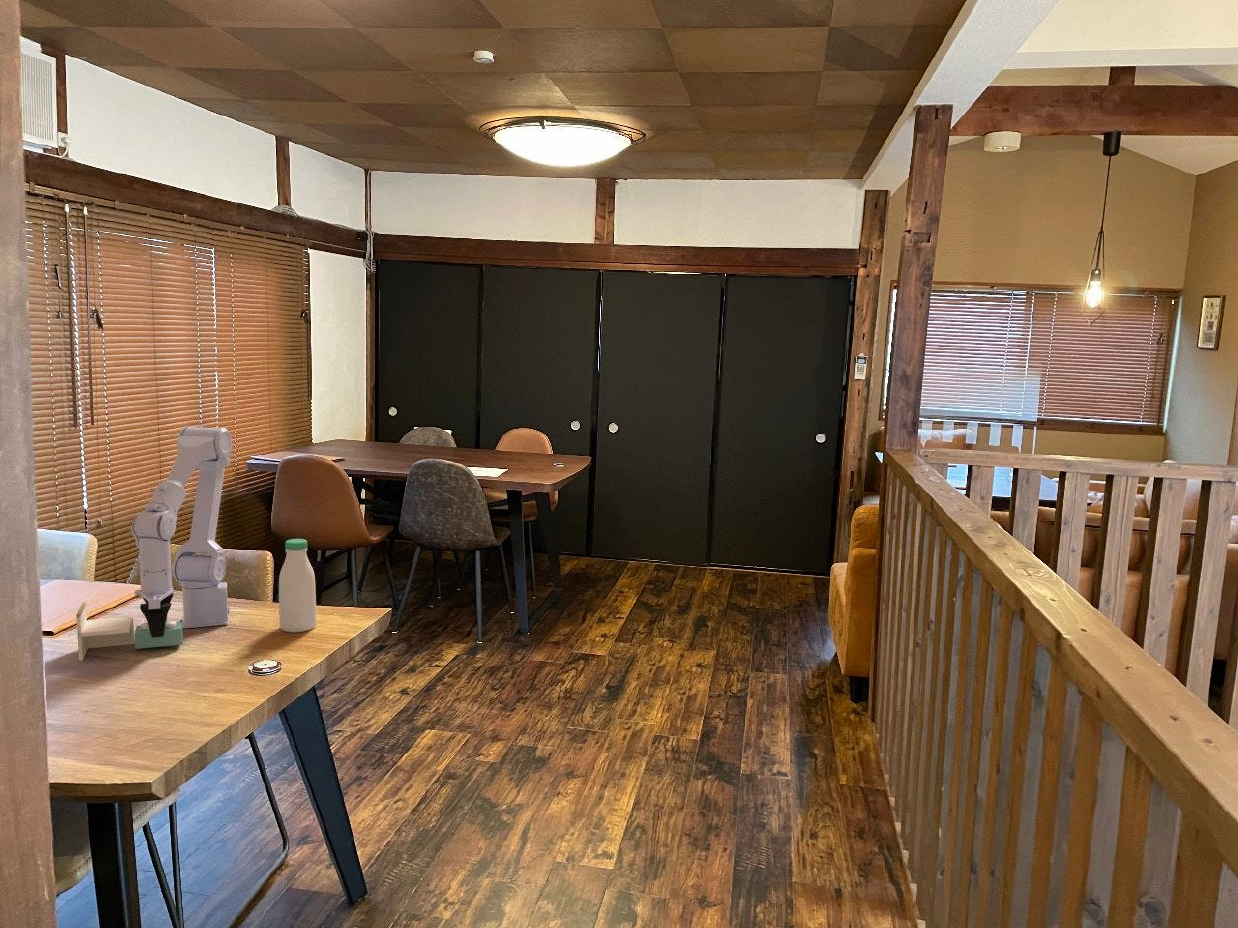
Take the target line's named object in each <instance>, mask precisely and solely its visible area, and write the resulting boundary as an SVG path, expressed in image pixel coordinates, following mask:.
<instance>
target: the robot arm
mask: <svg viewBox="0 0 1238 928" xmlns="http://www.w3.org/2000/svg"><path fill="white" fill-rule="evenodd" d="M176 448H177V455H176V457H175V459H174V462H173V465H172V468H171V470H170V472H169V475H168V476H167V480H165V481H164V480H163V481H161V482H159V483H158V485H157V487H156V488H155V490H154V491H153V494H152V495H151V498H150V500H149V501H148V504H146V507H145V509H144V510H142V511H141V512H139V513H137V514H136V515H135V516H134V518H133V520H132V523H131V527H130V530H131V534H132V536H133V538H134V540H135V546H136V548H138V551H139V552H138V553H139V557H138V558H139V574H140V575H139V576H140V577H139V579H140V589H136V590H134V596H139V597H142V599H143V602H144V603H141V604H140V606H139V608H140V611H141V613H142V614H143V616H144V618H145V619H146V623H148V626H149V630H150V633H151V636H152V637H163V635H164V631H165V624H166V621H168V614H169V611H170V610H171V606H172V603H171V601H172V600H173V598H174V587H173V578H174V580H175V581H176V582H178V586H181V587H182V589H181V590H182V591H181V593H182V595H181V596H182V617H181V622H182V628H183V629H192V628H203V627H204V628H205V627H215V626H217V627H218V626H226V625H228V623H229V615H230V606H228V605H229V603H228V601H229V600H228V582H224V581H223V582H222V580H223V579H224V577H225V575H226V572H227V571H226V570H227V564H226V551H225V549H224V548H222V547H221V546H220V545H219V544H218V543H217V542H216V533H217V527H218V518H219V512H220V511H219V510H220V505H221V498H222V490H223V483H224V475H225V471H226V470H225V468H227V467H229V466H230V462H231V458H232V457H231V456H232V451H233V439H232V436H231V433H230V432H229V430H228V429H227V428H226V427H220V428H217V427H215V428H213V427H197V426H196V427H195V426H193V427H191V426H187V425H186V426H184V427H182V428H181V429H180V431H179V432H178V435H177V438H176ZM196 469H197V470H198V471H199V474H198V480H197V485H196V486H197V487H196V493H195V501H194V506H193V507H194V508H193V512H192V513H193V514H192V522H191V527H190V528H191V529H190V535H189V540H186V542H185V543H183V544H181V545H180V546H179V547H178V548H177V551H176V555H175V558H174V560H173V563H172V557H171V556H172V554H171V553H172V552H171V538H172V537H173V536H174V535H175V532H176V530H177V520H178V517H179V516H178V515H177V514H178V511H179V510H180V508H181V506H182V504H183V503H184V502H183V501H184V500H185V498H186V496H187V491H186V489H185V485H187V483H188V481H189V479H190V478H191V477H192V475H193V473H194V472H195V470H196ZM204 554H205V555H204ZM207 554H208V555H207ZM172 576H173V577H172Z"/></svg>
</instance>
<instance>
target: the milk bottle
mask: <svg viewBox="0 0 1238 928" xmlns="http://www.w3.org/2000/svg"><path fill="white" fill-rule="evenodd" d="M284 542H285V543H284V544H285V545H284V547H285V550H284V551H285V552H286V556H285V559H284V562H283V564H282V567H281V569H280V572H279V578H278V605H279V606H278V609H279V610H278V613H279V628H280V630H281V631H284V632H286V633H303V632H308V631H311V630H313V629H314V628H316V625H317V601H316V599H317V598H316V597H317V593H316V592H317V591H316V578H315V577H316V576H315V571H314V569H313V566H312V565H311V562H310V560H309V558H308V555H307V554H308V553H307V551H308V541H307V540H306V539H304V538H292V539H287V540H286V541H284Z"/></svg>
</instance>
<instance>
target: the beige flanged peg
mask: <svg viewBox="0 0 1238 928" xmlns="http://www.w3.org/2000/svg"><path fill="white" fill-rule="evenodd" d="M75 616H76V618H75V619H76V630H77V631H76V635H77V648H78V649H77V650H78V661H79V662H83V661H84V658H85V656H86V653H87V652H88V649H94V648H104V647H105V648H107V647H115V646H117V647H118V646H126V645H128V646H129V645H135V629H134V628H135V627H134V616H132V615H131V616H123V617H112V618H111V617H109V618H100V619H98V618H97V619H88V617H87V602H82V603H81V604H80V607H79V608H78V610H77V612H76V614H75ZM87 619H88V620H87Z"/></svg>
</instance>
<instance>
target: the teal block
mask: <svg viewBox="0 0 1238 928" xmlns="http://www.w3.org/2000/svg"><path fill="white" fill-rule="evenodd" d="M183 631H184V630H183V628H182V621H180V622H177V621H176V620H167V621H166V624H165V631H164V635H163V637H152V636H151V633H150V630H149V626H148V622H143V623H142V624H140V625H136V627H135V629H134V646H135V650H138V649H145V648H146V649H147V648H159V647H167V646H168V647H169V646H180V645H183V641H184V640H183V639H184V636H183V635H184V633H183Z"/></svg>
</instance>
